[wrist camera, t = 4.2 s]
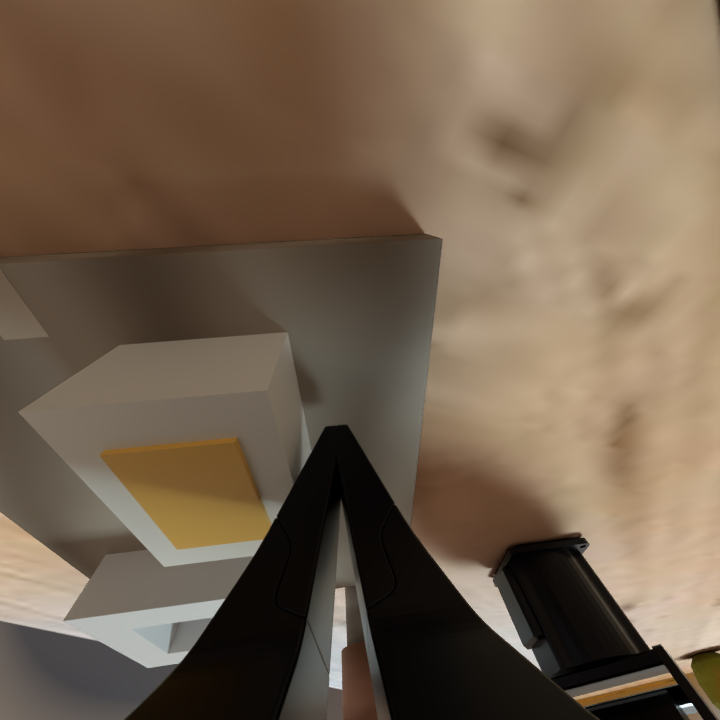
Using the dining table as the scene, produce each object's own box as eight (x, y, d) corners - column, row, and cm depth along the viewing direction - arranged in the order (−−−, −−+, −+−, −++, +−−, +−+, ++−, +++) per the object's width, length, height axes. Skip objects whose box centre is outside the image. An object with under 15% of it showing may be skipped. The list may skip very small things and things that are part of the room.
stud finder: (287, 331, 8) (265, 394, 5) (316, 473, 12) (311, 553, 9) (120, 344, 8) (10, 417, 5) (201, 485, 11) (161, 572, 9)
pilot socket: (264, 535, 14) (252, 594, 12) (290, 594, 18) (285, 647, 16) (105, 554, 13) (63, 621, 11) (170, 611, 18) (147, 667, 15)
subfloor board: (425, 233, 8) (442, 239, 7) (399, 554, 20) (404, 579, 18) (-198, 268, 7) (-310, 281, 6) (152, 587, 19) (138, 615, 17)
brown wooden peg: (384, 563, 20) (416, 782, 13) (383, 583, 22) (412, 784, 14) (337, 569, 20) (342, 796, 12) (341, 588, 22) (347, 796, 14)
